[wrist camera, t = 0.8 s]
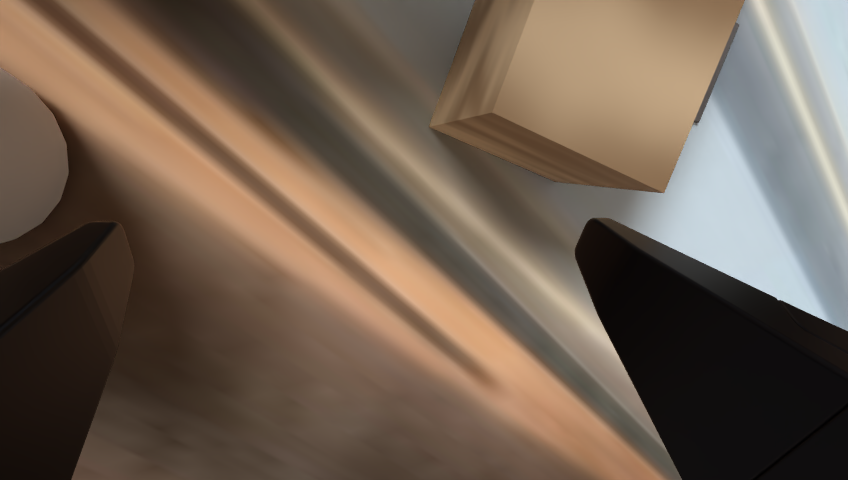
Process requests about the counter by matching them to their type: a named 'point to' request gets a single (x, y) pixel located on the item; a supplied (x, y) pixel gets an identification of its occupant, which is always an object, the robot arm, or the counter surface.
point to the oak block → (585, 85)
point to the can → (28, 159)
